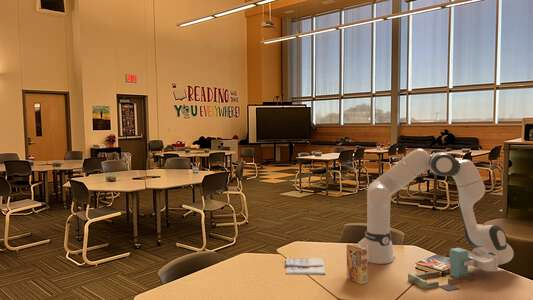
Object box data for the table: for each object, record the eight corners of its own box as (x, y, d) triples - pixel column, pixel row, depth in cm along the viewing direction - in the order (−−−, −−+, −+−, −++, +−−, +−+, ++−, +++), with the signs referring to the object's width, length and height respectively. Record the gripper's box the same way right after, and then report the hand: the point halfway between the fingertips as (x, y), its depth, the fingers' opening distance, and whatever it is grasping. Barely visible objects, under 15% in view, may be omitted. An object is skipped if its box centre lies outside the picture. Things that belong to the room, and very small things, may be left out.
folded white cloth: (323, 261, 206) (323, 257, 206) (325, 276, 186) (325, 271, 186) (285, 261, 208) (285, 256, 208) (283, 275, 188) (283, 271, 188)
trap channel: (400, 276, 183) (400, 269, 183) (447, 268, 192) (447, 262, 192) (433, 293, 164) (433, 286, 164) (483, 284, 173) (483, 277, 172)
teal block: (450, 275, 183) (450, 248, 182) (458, 273, 184) (459, 247, 184) (458, 279, 178) (459, 252, 177) (467, 277, 180) (468, 250, 179)
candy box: (368, 282, 176) (367, 247, 175) (361, 285, 174) (360, 249, 173) (353, 276, 184) (352, 243, 183) (346, 278, 181) (346, 244, 180)
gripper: (463, 244, 195) (440, 247, 190) (501, 257, 175) (476, 261, 171) (463, 257, 195) (440, 260, 191) (500, 271, 176) (475, 276, 171)
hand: (457, 261), depth 181 cm, fingers closed on teal block, 5 cm apart
